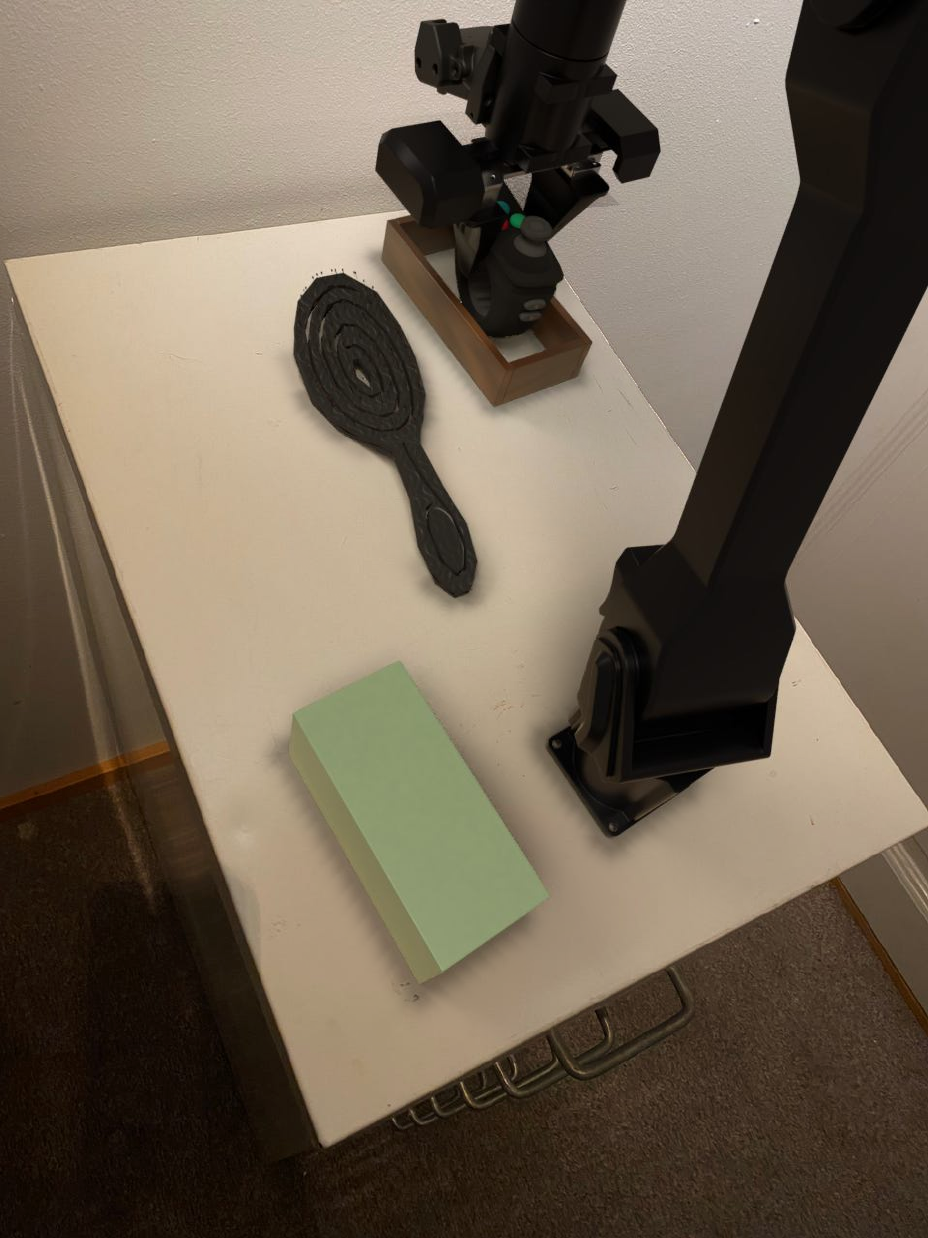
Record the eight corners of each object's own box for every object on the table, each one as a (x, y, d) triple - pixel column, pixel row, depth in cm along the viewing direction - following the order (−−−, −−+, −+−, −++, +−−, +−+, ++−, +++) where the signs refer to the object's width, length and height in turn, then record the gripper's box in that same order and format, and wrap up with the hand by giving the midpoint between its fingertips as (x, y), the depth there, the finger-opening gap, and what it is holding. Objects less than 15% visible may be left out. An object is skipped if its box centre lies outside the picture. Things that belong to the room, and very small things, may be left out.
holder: (577, 376, 62) (593, 341, 59) (493, 407, 59) (506, 371, 56) (464, 238, 67) (473, 199, 64) (380, 259, 64) (386, 219, 61)
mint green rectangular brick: (516, 917, 43) (551, 896, 38) (419, 984, 40) (442, 972, 35) (384, 704, 47) (400, 659, 42) (288, 753, 44) (292, 712, 39)
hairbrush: (408, 592, 47) (273, 268, 55) (397, 619, 50) (271, 310, 58) (533, 558, 50) (389, 257, 58) (515, 586, 53) (381, 297, 61)
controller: (486, 375, 59) (525, 258, 51) (424, 256, 64) (450, 131, 55) (538, 367, 61) (584, 252, 52) (474, 252, 66) (507, 129, 57)
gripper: (602, -59, 52) (531, 172, 65) (341, -40, 44) (321, 219, 58) (713, 45, 49) (615, 266, 62) (452, 85, 41) (404, 328, 54)
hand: (492, 266), depth 59 cm, fingers closed on controller, 4 cm apart
